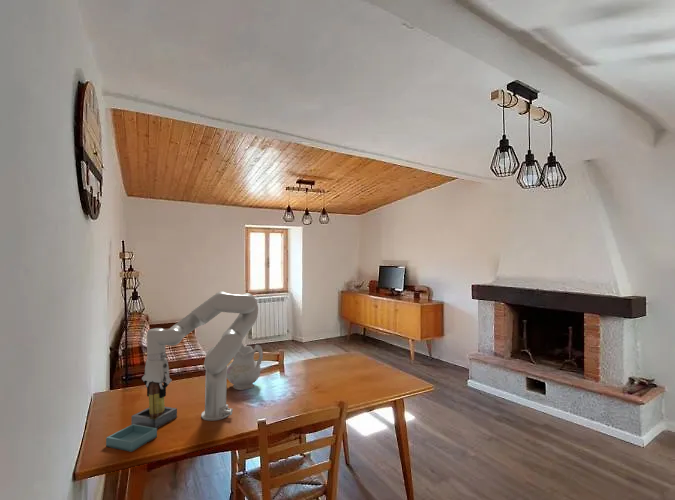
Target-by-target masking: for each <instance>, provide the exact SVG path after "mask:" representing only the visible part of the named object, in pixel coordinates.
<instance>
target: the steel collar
mask: <svg viewBox="0 0 675 500" xmlns="http://www.w3.org/2000/svg"><path fill="white" fill-rule="evenodd" d="M177 418H178V409H177V407H171V406H165V410H164V414H162V415H160V416H158V417H150V413H149V407H148V408H147V407H146V408H145V409H142V410H140V411H138V412H136V413H135V414H132V415H131V422H130V423H131V424H130V425H132V424H136V425H141V426H147V427H152V428H157V429H159V428H160V427H162V426H165V425H166V424H168V423H169V422H171V421H173V420H175V419H177ZM167 422H168V423H167Z"/></svg>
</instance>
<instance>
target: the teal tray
mask: <svg viewBox="0 0 675 500" xmlns="http://www.w3.org/2000/svg"><path fill="white" fill-rule="evenodd" d="M157 437H158V428H152V427H147V426H141V425H136V424H132V425H131V424H130V425H128V426H126V427H125V428H122V429H120V430H118V431H116V432H115V433H113V434H110V435H109V436H106V438H105V447H107V448H111V449H115V450H121V451H124V452H131V453H133V452H134V451H135V450H138V449H139V448H141V447H143V446H144V445H146V444H148V443H149V442H151V441H153V440H154V439H156V438H157ZM147 442H148V443H147Z"/></svg>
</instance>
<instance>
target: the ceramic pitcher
mask: <svg viewBox="0 0 675 500" xmlns="http://www.w3.org/2000/svg"><path fill="white" fill-rule="evenodd" d="M256 352H258V354H259V357H258V359H257V361H255V353H256ZM263 355H264V353H263V348H262V346H261V344H254V348H253V347H252V346H251V345H244V344H243V343H242V345H241V348H240V349H239V351H238V352H237V354H236V355H235V356H234V357H233V359H232V361H231V363H229V364H228V365H227V380H228V382H229V383H231V384H232V385H233V386H232V388H233V389H235V390H237V391H242V390H244V391H245V390H249V389H250V390H251V389H252V388H255V385H254V383H256V382H257V380H258V379H259V377H260V375H261V364H262V361H263V359H264V356H263Z"/></svg>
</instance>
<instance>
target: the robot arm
mask: <svg viewBox="0 0 675 500" xmlns="http://www.w3.org/2000/svg"><path fill="white" fill-rule="evenodd" d="M221 313H230V314H232V313H233V314H238V316H237V317H236V318H235V319H234V321H233V322H232V323H231V325H230V326H229V327H228V328H227V329H226V330H225V331H224V332H223V334H222V335H221V338H220V340H219V341H218V343H217V344H216V345H215V346H213V347H211V348H210V349H208V351H207V352H206V355H205V358H204V362H203V366H204V368H205V383H204V387H205V389H204V411H202V412H201V415H200V416H201V417H200V418H201V419H202V420H204V421H209V422H210V421H212V422H214V421H215V422H216V421H220V420H223V419H225V418H228V417H229V416H231V415H233V411H234V409H233V408H229V404H227V384H228V383H227V382H228V381H227V380H228V379H227V367H228V365H230V362H232V361H233V360H234V356H235V355H236V354H237V352H238V351H239V349H240V348H241V345H242V344H243V340H244V339H245V337H246V336H247V335H248V333H249V332H250V331H251V329H252V328H253V327H254V325H255V323H256V321H257V320H258V319H257V318H258V314H259V306H258V302H257V299H256V297H255V296H254V295H253V294H252V293H249V292H246V293H242V294H232V293H228V292H226V291H223V290H222V291H218V292H216V293H215V294H214V295H211V296H210V297H209V298H207V300H205V301H204V302H203V303H201V304H200V305H198V306H197V307H195V309H193V310H191V312H190V313H188V314H187V315H186V316H185V317H183V318H182V319H181V320H179V321H178V322H176V323H175V324H173V325H172V326H170V328H168V329H165V328H162V327H155V328H150V329H148V331H147V332H146V361H145V366H144V374H143V376H142V377H141V380H142V381H143V383H144V384H145V388H146V396H147V398H149V385H150V383H151V382H152V381H153V382H156V383H159V385H160V388H161V389H160V390H159V396H160V398H163V397H164V398H165V397H166V396H167V387H168V386H169V385H170V383H171V382H172V378H170V368H169V361H168V359H167V357H168V355H167V354H166V346H176V345H179V344H180V343H181V341H183V339H184V338H185V337H186V336H187V335H189V334H190V333H191V332H193V331H194V330H196V329H197V328H199V327H201V326H204V325H206V324H208V323H209V322H210V321H211V320H213V319H214V318H215V317H217V316H218V315H219V314H221Z"/></svg>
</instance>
